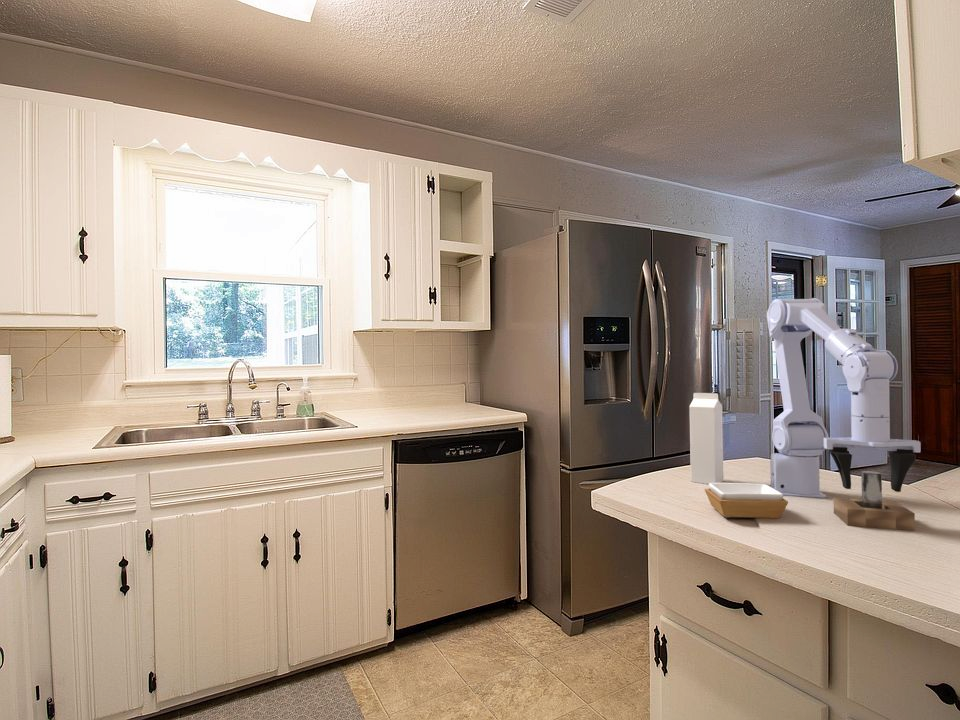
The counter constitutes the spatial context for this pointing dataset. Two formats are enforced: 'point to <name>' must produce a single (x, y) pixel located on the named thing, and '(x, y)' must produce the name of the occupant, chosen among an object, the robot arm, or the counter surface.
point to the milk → (706, 439)
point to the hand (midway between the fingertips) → (871, 489)
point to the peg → (871, 489)
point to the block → (874, 514)
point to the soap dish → (746, 500)
